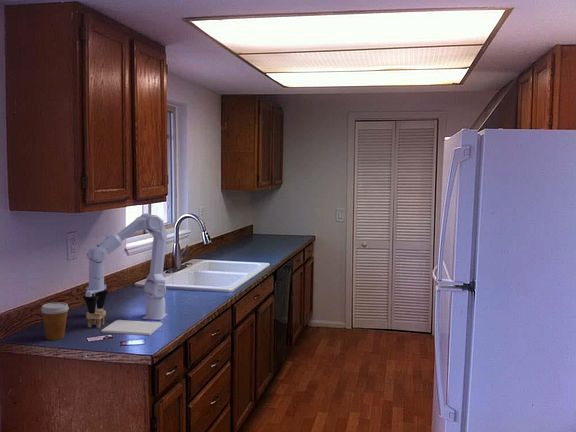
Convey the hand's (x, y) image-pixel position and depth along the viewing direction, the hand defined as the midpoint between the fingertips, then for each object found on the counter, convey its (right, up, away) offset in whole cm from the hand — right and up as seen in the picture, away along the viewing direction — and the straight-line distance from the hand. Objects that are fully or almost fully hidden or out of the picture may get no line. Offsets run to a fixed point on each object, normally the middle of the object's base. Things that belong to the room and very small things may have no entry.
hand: (96, 310), depth 220 cm
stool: (0, -6, +1) cm, 6 cm away
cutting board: (+15, -7, -1) cm, 16 cm away
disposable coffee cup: (-10, -7, -16) cm, 20 cm away
